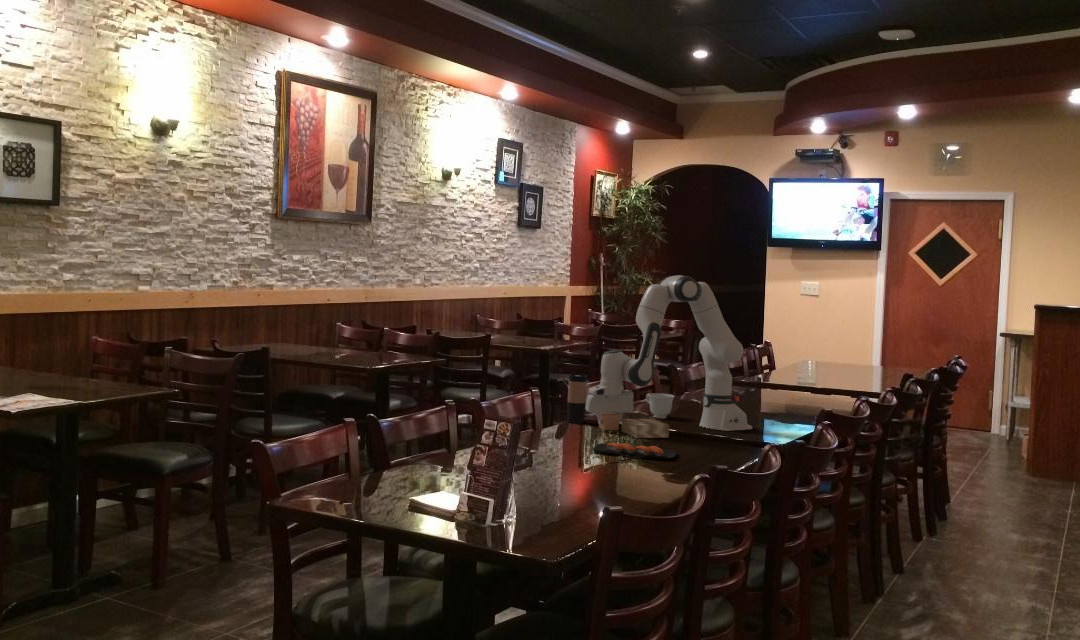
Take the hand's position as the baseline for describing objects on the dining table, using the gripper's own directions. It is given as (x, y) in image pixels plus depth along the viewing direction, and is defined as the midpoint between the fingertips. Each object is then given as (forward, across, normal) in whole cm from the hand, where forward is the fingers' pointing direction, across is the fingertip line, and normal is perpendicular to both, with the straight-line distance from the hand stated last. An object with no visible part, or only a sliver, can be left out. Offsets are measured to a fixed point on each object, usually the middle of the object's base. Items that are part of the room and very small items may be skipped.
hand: (608, 423), depth 386 cm
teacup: (+2, -36, -27) cm, 45 cm away
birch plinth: (+2, -10, +13) cm, 16 cm away
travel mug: (+2, +8, -16) cm, 18 cm away
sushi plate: (+3, +16, +55) cm, 57 cm away
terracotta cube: (+2, 0, 0) cm, 2 cm away
